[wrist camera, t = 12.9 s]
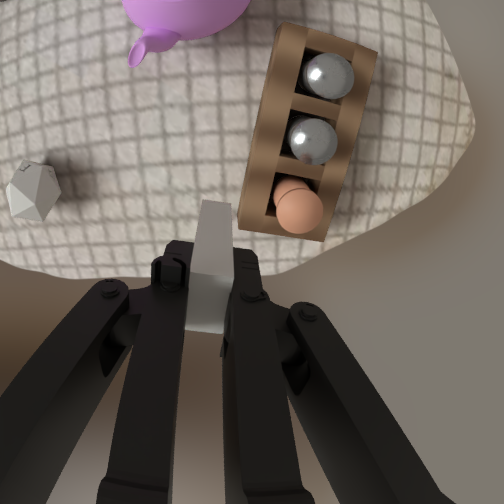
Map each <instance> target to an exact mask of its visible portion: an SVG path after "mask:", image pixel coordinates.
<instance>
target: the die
mask: <svg viewBox="0 0 504 504" xmlns="http://www.w3.org/2000/svg"><path fill="white" fill-rule="evenodd" d="M6 192H7V197H8V201H9V206H10V210H11V214H12V217H16V218H22V219H28V220H34V221H40V222H43V221H44V220H45V218H46V216H47V215H48V213H49V212H50V210H51V208H52V207H53V205H54V204H55V202H56V201H57V199H58V198H59V196H60V195H61V190H60V187H59V184H58V181H57V178H56V174H55V171H54V168H53V167H52V166H48V165H43V164H40V163H36V162H31V161H27V160H23V161H22V163H21V165H20V166H19V168H18V169H17V171H16V173H15V174H14V176H13V178H12V179H11V181H10V183H9V184H8V186H7V188H6Z"/></svg>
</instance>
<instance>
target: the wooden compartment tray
mask: <svg viewBox="0 0 504 504" xmlns="http://www.w3.org/2000/svg"><path fill="white" fill-rule="evenodd" d="M303 53H306V54H310V55H313V56H317V55H320V54H324V53H334V54H338V55H340V56H342V57H343V58H345V59H346V60H347V61H348V62H349V64H350V65H351V67H352V69H353V72H354V84H353V86H352V88H351V90H350V91H349V92H348V93H347V94H346V95H345V96H343V97H341V98H338V99H330V100H329V102H327V101H323V100H320V99H316V98H312V97H309V96H305V95H301V94H297V93H294V91H295V86H296V82H297V78H298V74H299V69H300V65H301V61H302V56H303ZM377 54H378V52H376V51H374V50H371V49H369V48H366V47H364V46H361V45H358V44H356V43H353V42H350V41H347V40H345V39H342V38H339V37H336V36H333V35H330V34H327V33H323V32H320V31H317V30H313V29H310V28H306V27H303V26H299V25H295V24H291V23H287V22H283V23H282V24H281V25H280V26H279V27H278V28H277V31H276V36H275V40H274V44H273V48H272V53H271V57H270V62H269V66H268V70H267V75H266V79H265V84H264V88H263V93H262V97H261V102H260V106H259V111H258V116H257V120H256V125H255V130H254V134H253V139H252V144H251V149H250V153H249V158H248V163H247V168H246V173H245V178H244V183H243V187H242V192H241V197H240V202H239V207H238V212H237V217H238V229H240V230H247V231H253V232H260V233H267V234H274V235H280V236H287V237H293V238H300V239H306V240H313V241H319V242H324V240H325V237H326V234H327V231H328V228H329V225H330V222H331V219H332V216H333V213H334V210H335V207H336V204H337V200H338V197H339V194H340V191H341V188H342V185H343V181H344V178H345V175H346V171H347V168H348V165H349V161H350V158H351V155H352V151H353V148H354V144H355V141H356V137H357V133H358V130H359V126H360V123H361V119H362V115H363V111H364V108H365V104H366V100H367V96H368V92H369V88H370V84H371V80H372V76H373V71H374V67H375V63H376V58H377ZM290 109H294V110H298V111H302V112H306V113H310V114H314V115H318V116H322V117H325V120H324V121H325V122H327V123H328V124H330V125H331V126H332V128H333V129H334V130H335V132H336V135H337V141H338V143H337V149H336V151H335V153H334V155H333V156H332V157H331V158H330V159H329V160H328V161H327V162H325V163H323V164H320V165H308V164H305V163H303V162H301V161H300V160H299V159H298V158H297V157H296V156H295V155H294V154H293V152H291V151H287V150H282V149H281V146H282V142H283V137H284V133H285V129H286V125H287V120H288V116H289V112H290ZM275 172H281V173H286V174H291V175H296V176H301V177H305V178H309V180H308V184H307V186H308V188H309V189H310V190H311V191H313V192H314V193H315V194H316V195H317V196H318V197H319V199H320V200H321V202H322V205H323V216H322V219H321V221H320V222H319V224H318V225H317V226H316V227H315V228H314V229H312V230H311V231H309V232H306V233H302V234H295V233H291V232H288V231H287V230H285V229H284V228H283V227H282V226H281V225H280V223H279V221H278V218H277V215H276V205H275V204H274V203H268V200H269V196H270V192H271V188H272V184H273V180H274V175H275Z"/></svg>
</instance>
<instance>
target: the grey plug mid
mask: <svg viewBox="0 0 504 504" xmlns="http://www.w3.org/2000/svg"><path fill="white" fill-rule="evenodd" d="M284 139H285V141H286V143H287V144H288V145H289V146H290V147H291V150H292V152H293V154H294V155H295V156H296V157H297V158H298V159H299V160H300V161H301V162H303V163H305V164H308V165H320V164H323V163H325V162H327V161H328V160H329V159H330V158H331V157H332V156H333V155H334V153H335V151H336V149H337V143H338V141H337V135H336V132H335V130H334V129H333V128H332V126H331V125H330V124H328V123H327V122H325V121H323V120H320V119H316V118H310V117H308V116H304V115H299V116H295V117H293V118H291V119H290V120H289V121H288V122H287V125H286V129H285V133H284Z"/></svg>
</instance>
